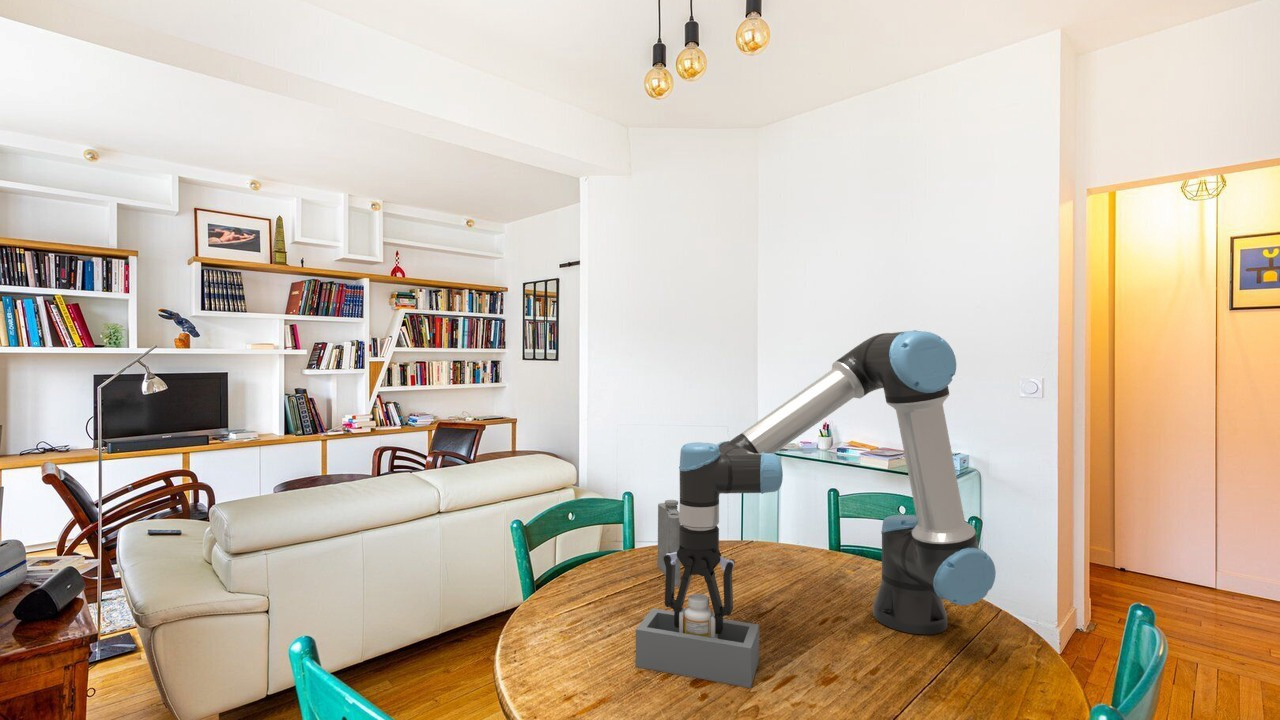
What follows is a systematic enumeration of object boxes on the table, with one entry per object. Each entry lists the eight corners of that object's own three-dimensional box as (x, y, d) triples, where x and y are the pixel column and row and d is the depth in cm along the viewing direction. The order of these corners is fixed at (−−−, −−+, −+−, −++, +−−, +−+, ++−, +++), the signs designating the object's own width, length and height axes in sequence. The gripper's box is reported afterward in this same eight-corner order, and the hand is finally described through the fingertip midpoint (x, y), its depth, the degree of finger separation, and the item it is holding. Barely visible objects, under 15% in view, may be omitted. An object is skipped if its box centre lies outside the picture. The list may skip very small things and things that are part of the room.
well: (758, 660, 116) (759, 624, 116) (750, 688, 106) (751, 648, 106) (652, 642, 123) (652, 608, 123) (635, 666, 113) (635, 629, 113)
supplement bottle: (694, 639, 118) (694, 589, 118) (717, 647, 115) (718, 596, 115) (678, 649, 114) (678, 598, 114) (702, 658, 110) (702, 605, 110)
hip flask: (656, 565, 168) (657, 494, 168) (670, 564, 169) (671, 493, 169) (669, 587, 153) (670, 508, 153) (685, 586, 153) (685, 507, 153)
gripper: (750, 524, 115) (750, 645, 115) (658, 515, 121) (658, 631, 121) (744, 535, 108) (743, 664, 108) (646, 525, 114) (646, 648, 114)
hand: (698, 646), depth 114 cm, fingers closed on supplement bottle, 5 cm apart
